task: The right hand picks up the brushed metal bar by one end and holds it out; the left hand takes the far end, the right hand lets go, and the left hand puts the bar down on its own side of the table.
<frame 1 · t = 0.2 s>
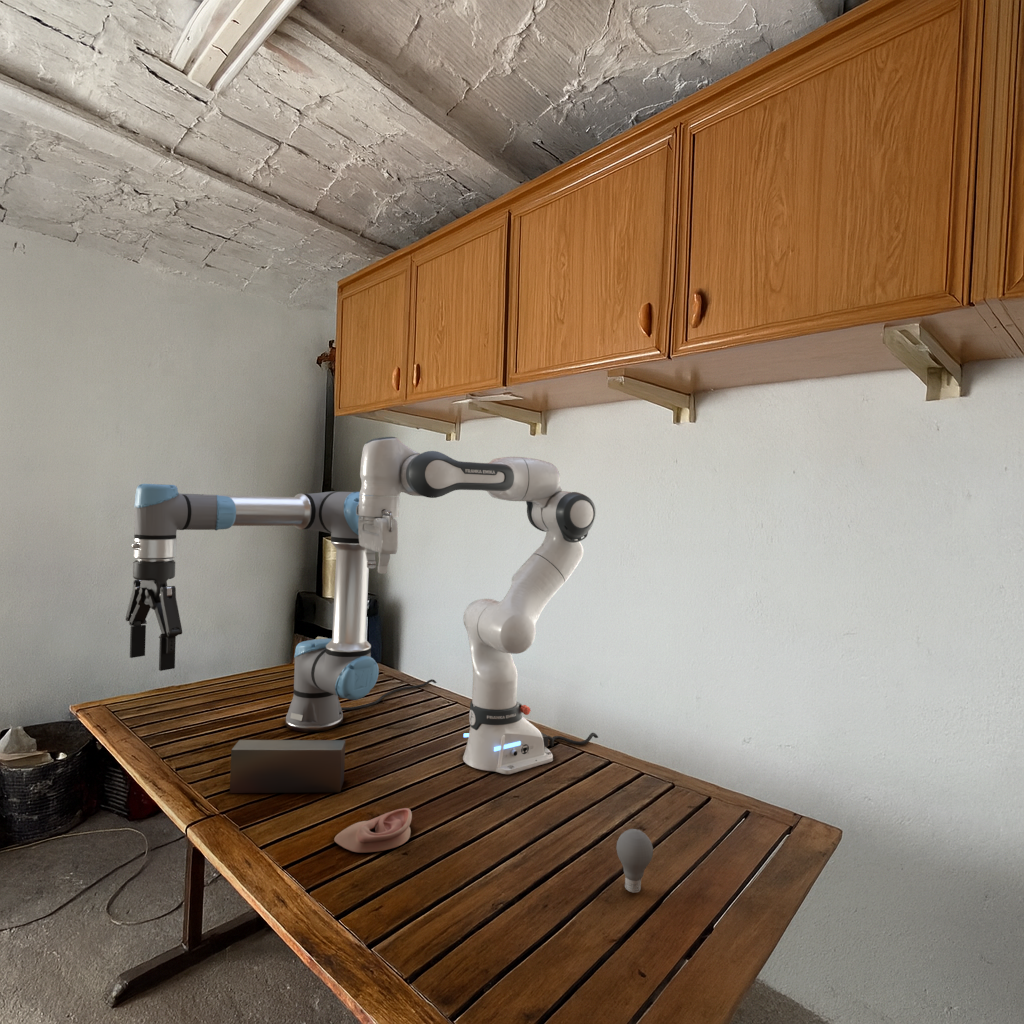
left hand: (151, 662, 130), 28 cm above the table, tool pointing down, fingers open, 13 cm apart
right hand: (376, 570, 142), 47 cm above the table, tool pointing down, fingers open, 8 cm apart
anatomical model: (373, 838, 119), on the table
light bulb: (632, 891, 106), on the table
fossil: (331, 680, 216), on the table
bar: (288, 787, 137), on the table
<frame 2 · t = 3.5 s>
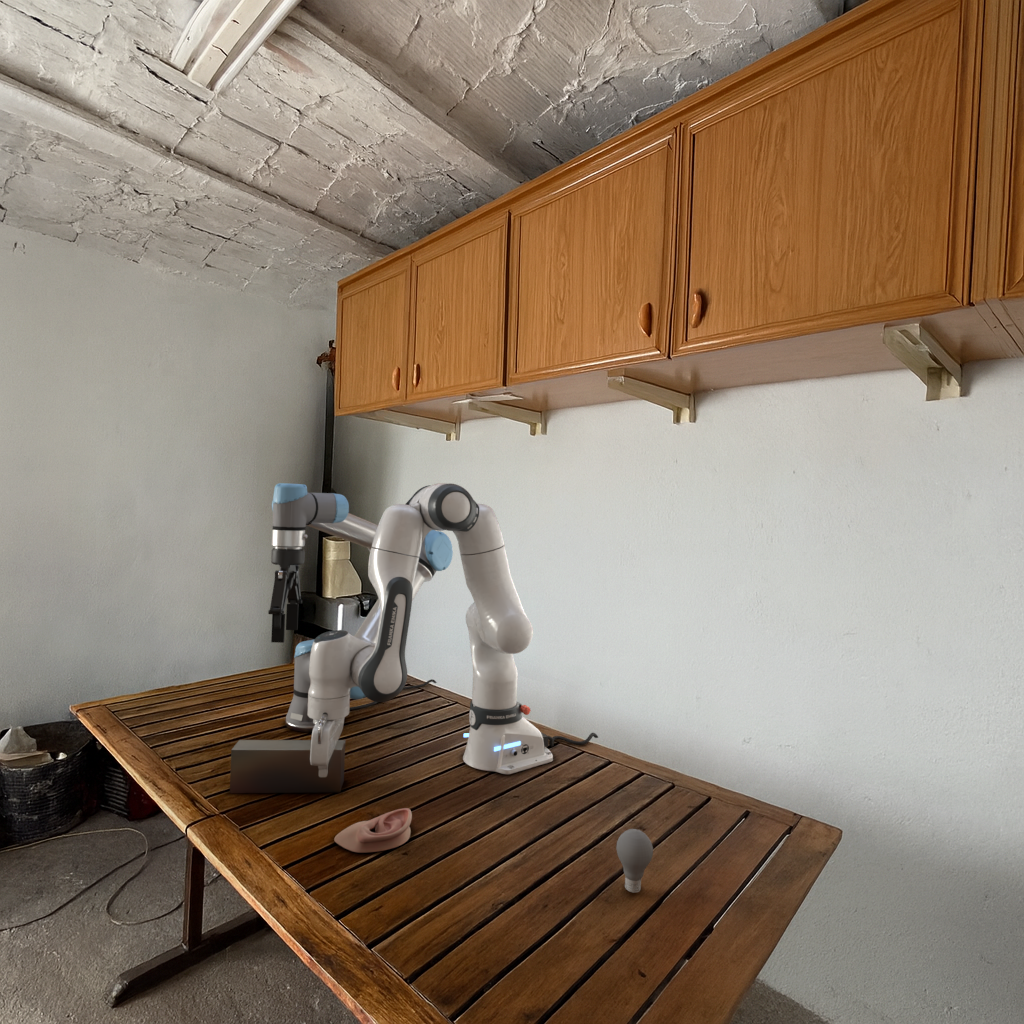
left hand: (285, 635, 152), 29 cm above the table, tool pointing down, fingers open, 13 cm apart
right hand: (326, 769, 138), 4 cm above the table, tool pointing down, fingers closed on bar, 5 cm apart
bar: (288, 787, 137), on the table, touching right hand
everything else where it was.
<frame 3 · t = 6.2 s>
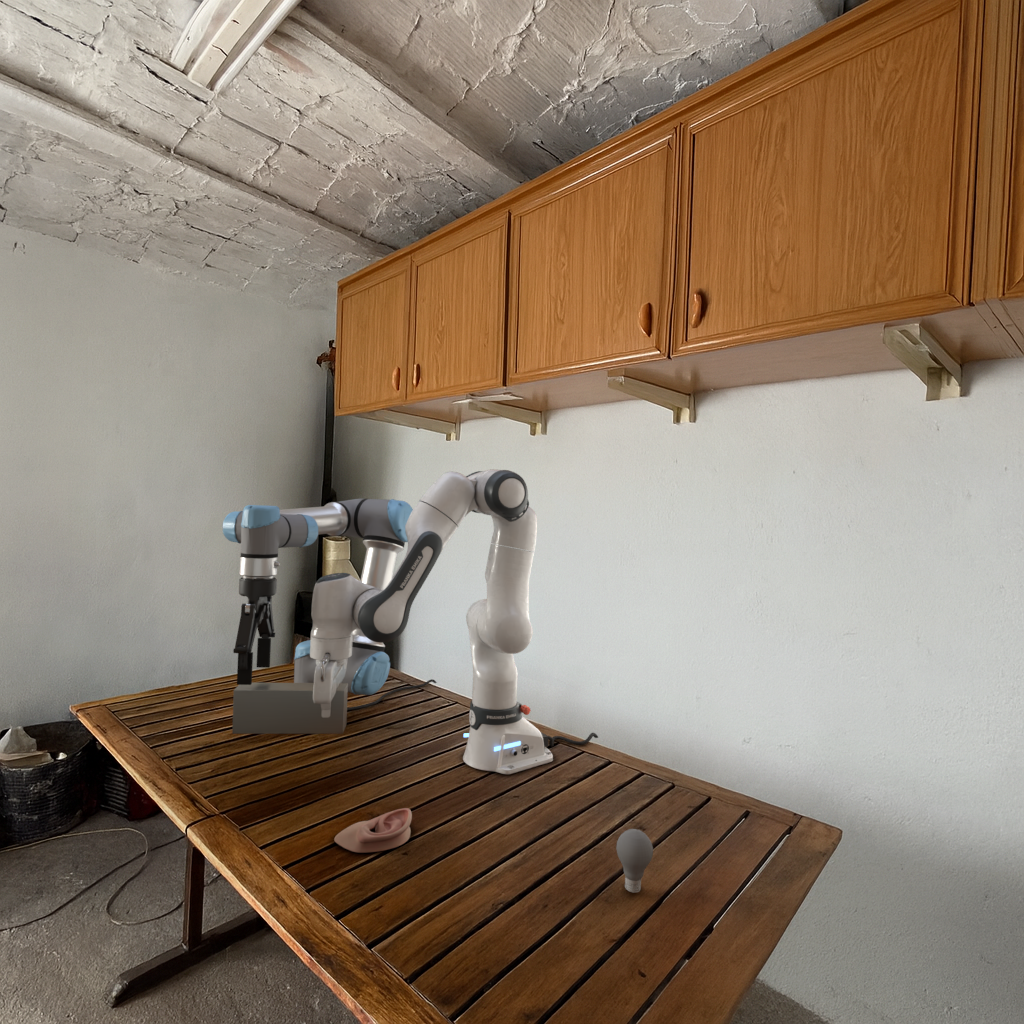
left hand: (254, 675, 136), 24 cm above the table, tool pointing down, fingers open, 13 cm apart
right hand: (329, 711, 138), 17 cm above the table, tool pointing down, fingers closed on bar, 5 cm apart
bar: (291, 729, 137), point 13 cm above the table, touching right hand
everything else where it was.
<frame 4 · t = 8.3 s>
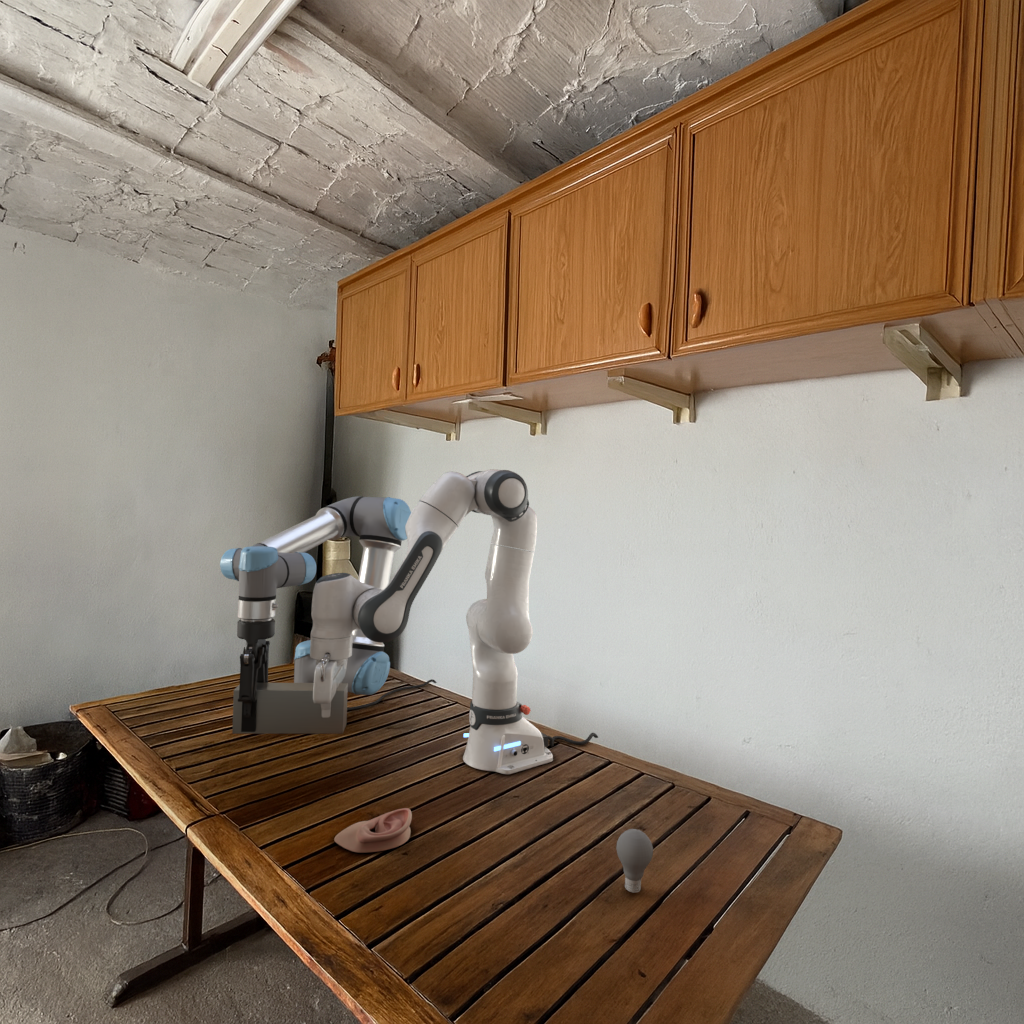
left hand: (252, 725, 136), 13 cm above the table, tool pointing down, fingers closed on bar, 5 cm apart
right hand: (329, 711, 138), 17 cm above the table, tool pointing down, fingers closed on bar, 5 cm apart
bar: (291, 729, 137), point 13 cm above the table, touching left hand, right hand
everything else where it was.
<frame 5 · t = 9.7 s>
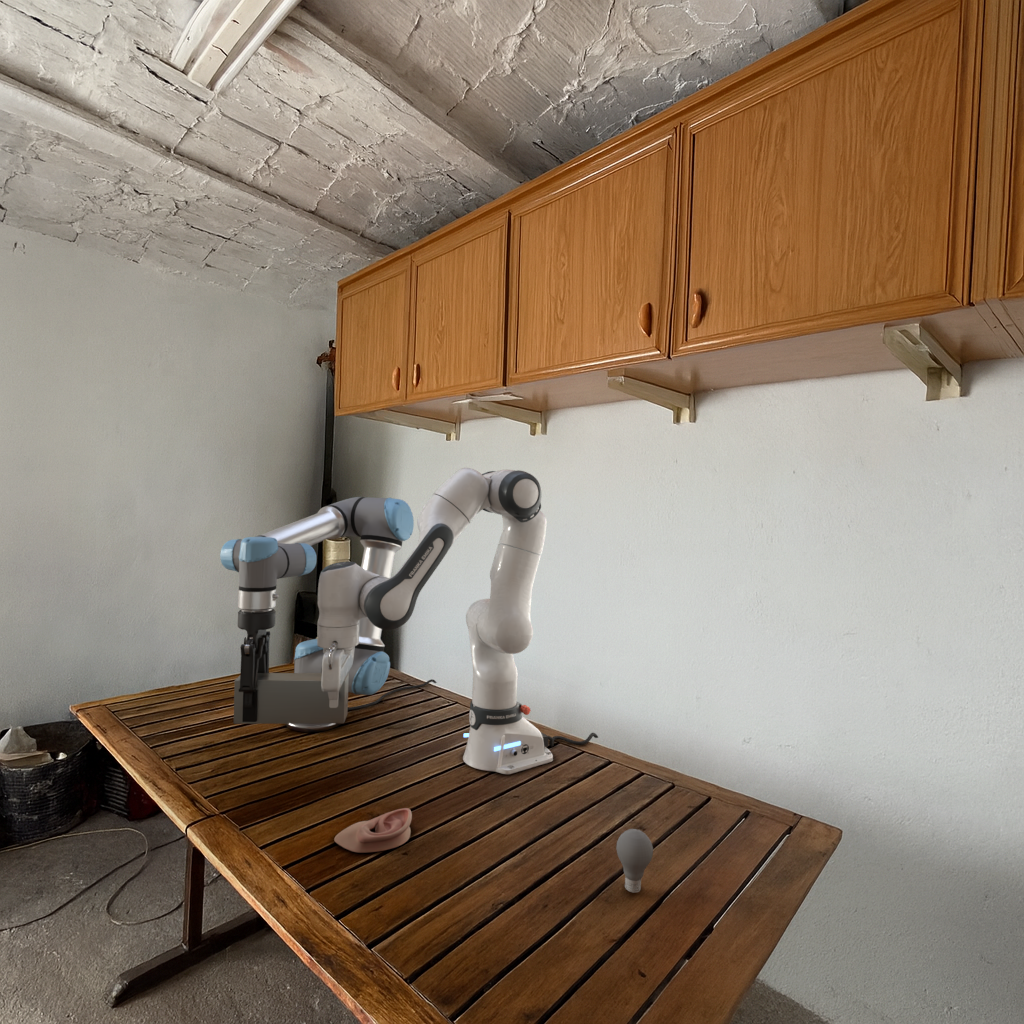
left hand: (253, 715, 137), 15 cm above the table, tool pointing down, fingers closed on bar, 5 cm apart
right hand: (337, 699, 138), 19 cm above the table, tool pointing down, fingers open, 8 cm apart
bar: (292, 719, 137), point 15 cm above the table, touching left hand
everything else where it was.
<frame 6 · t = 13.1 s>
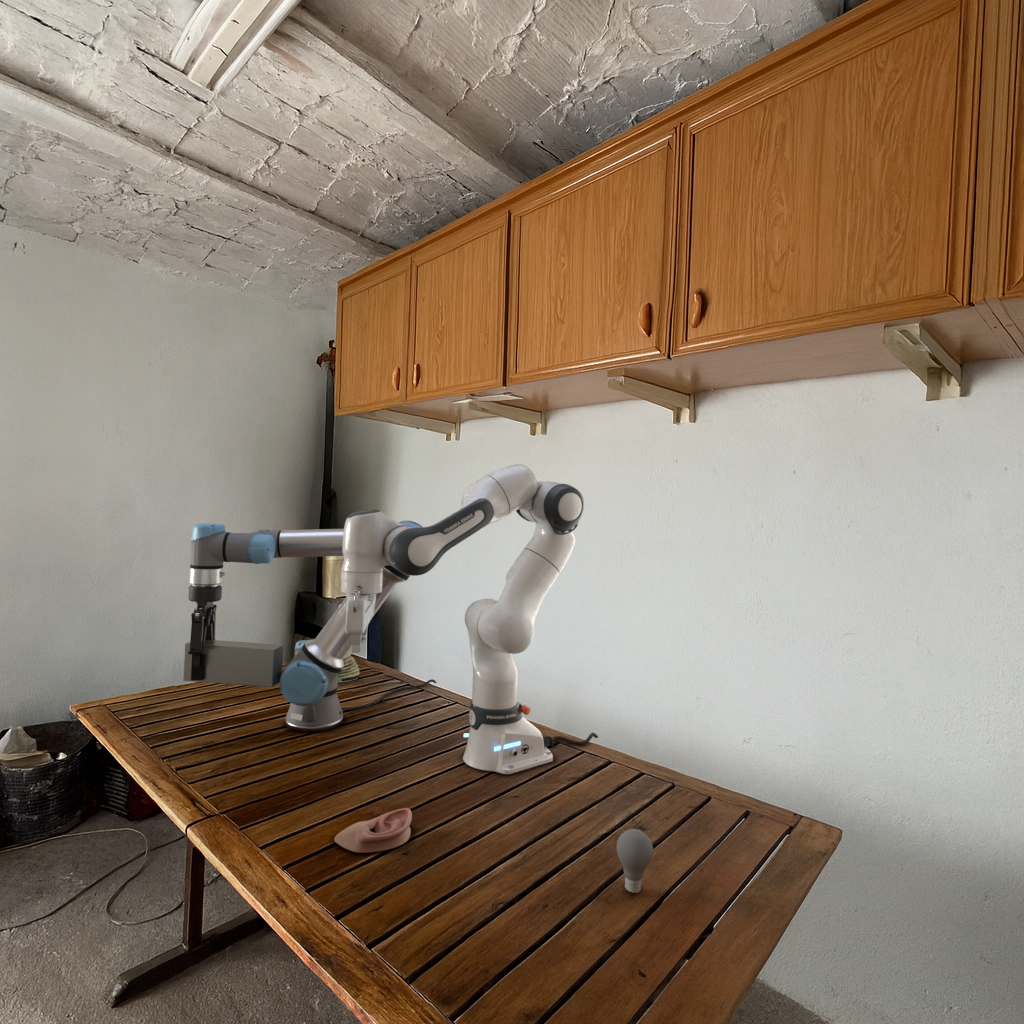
left hand: (201, 675, 159), 17 cm above the table, tool pointing down, fingers closed on bar, 6 cm apart
right hand: (359, 646, 138), 31 cm above the table, tool pointing down, fingers open, 8 cm apart
bar: (233, 681, 159), point 16 cm above the table, touching left hand
everything else where it was.
when the left hand's fingers open (2 cm above the table, at t = 18.3 s): bar drops 1 cm, on the table.
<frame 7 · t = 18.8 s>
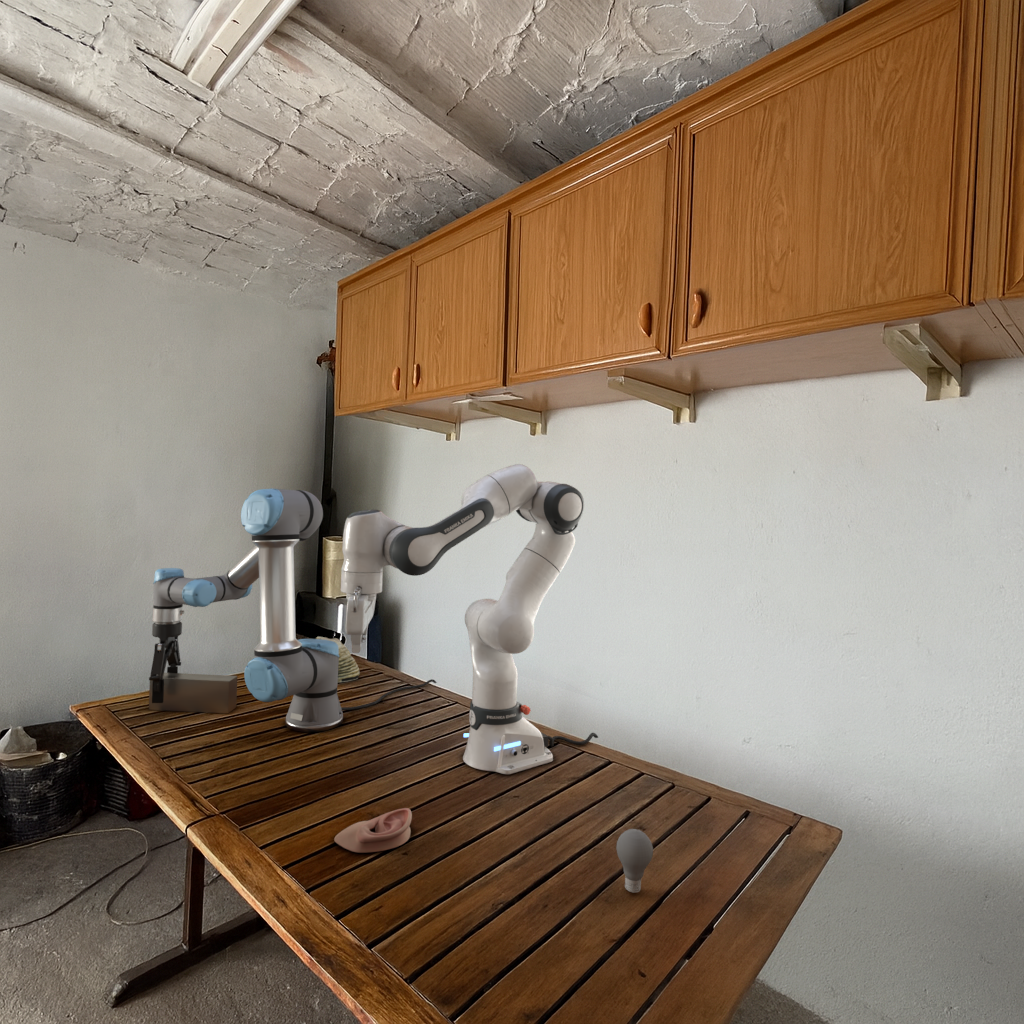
left hand: (165, 695, 183), 3 cm above the table, tool pointing down, fingers open, 13 cm apart
right hand: (359, 646, 138), 31 cm above the table, tool pointing down, fingers open, 8 cm apart
bar: (193, 708, 183), on the table
everything else where it was.
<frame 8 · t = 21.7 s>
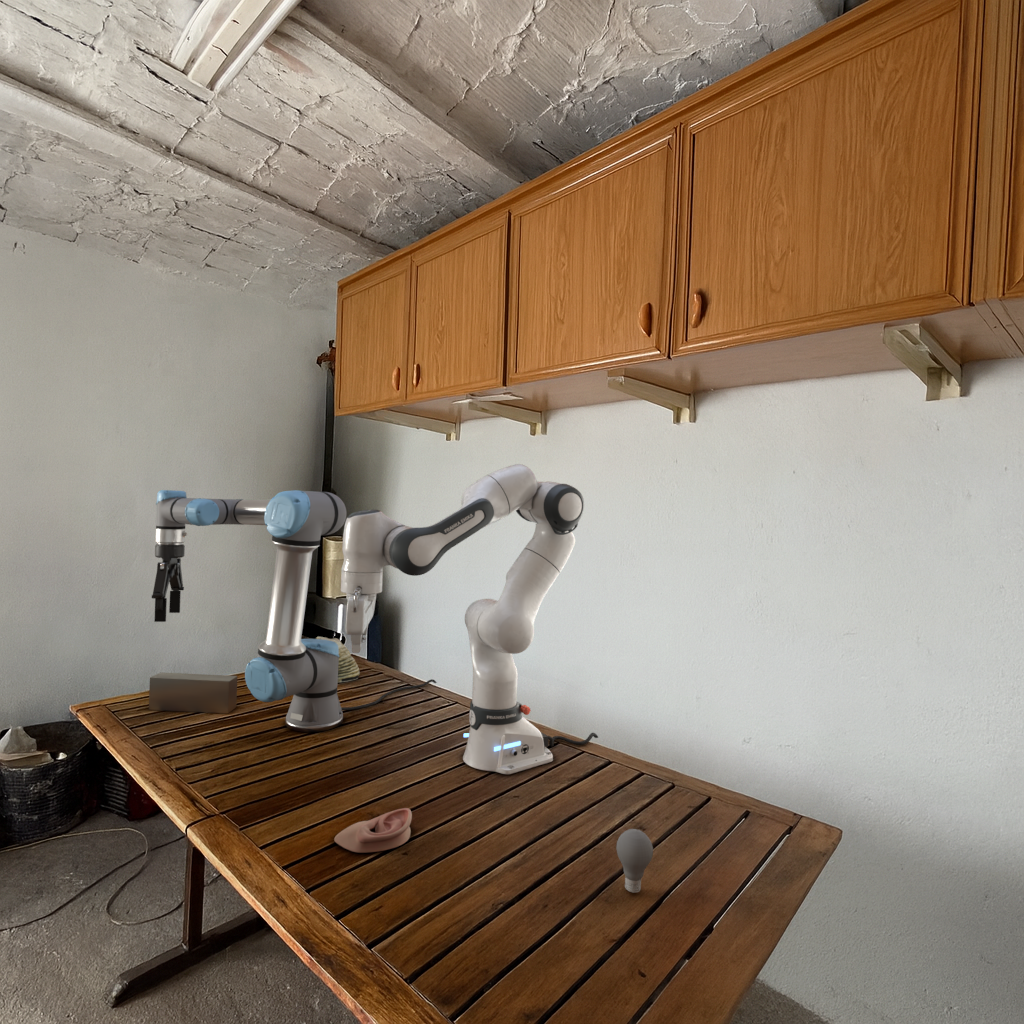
left hand: (167, 617, 183), 26 cm above the table, tool pointing down, fingers open, 13 cm apart
right hand: (359, 646, 138), 31 cm above the table, tool pointing down, fingers open, 8 cm apart
nothing on the table moved.
at the end: bar inside the target area (8.3 cm from its centre), on the table; the left hand is holding nothing; the right hand is holding nothing; bar at rest at the end (0.0 cm/s) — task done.
